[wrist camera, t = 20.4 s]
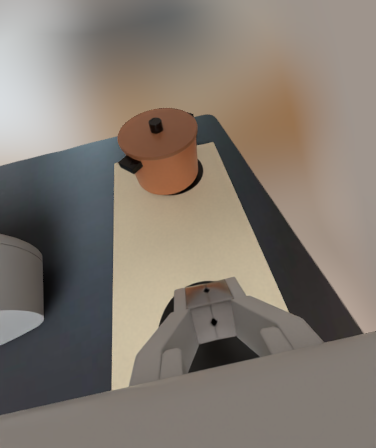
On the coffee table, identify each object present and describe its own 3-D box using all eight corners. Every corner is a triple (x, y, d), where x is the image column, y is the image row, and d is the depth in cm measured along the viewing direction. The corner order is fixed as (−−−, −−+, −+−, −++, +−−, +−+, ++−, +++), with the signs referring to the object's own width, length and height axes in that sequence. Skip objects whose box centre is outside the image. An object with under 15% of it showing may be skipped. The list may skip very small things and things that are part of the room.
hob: (213, 145, 41) (213, 141, 40) (314, 377, 20) (319, 379, 19) (116, 166, 41) (114, 163, 40) (115, 426, 20) (110, 430, 19)
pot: (167, 141, 42) (156, 89, 33) (215, 160, 37) (218, 104, 28) (118, 187, 36) (88, 138, 27) (168, 215, 32) (152, 167, 23)
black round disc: (242, 273, 27) (243, 271, 26) (285, 391, 20) (289, 393, 19) (153, 293, 26) (152, 292, 25) (166, 420, 20) (164, 424, 19)
